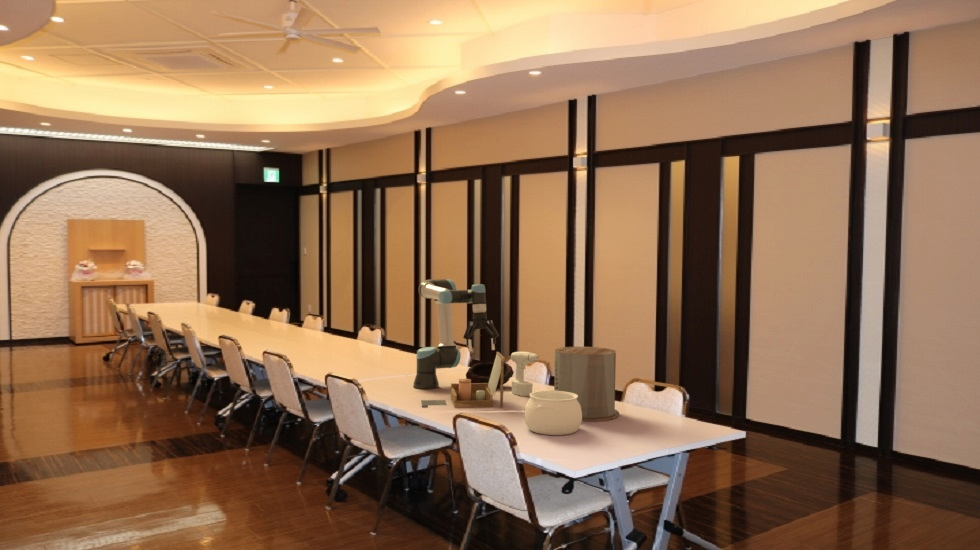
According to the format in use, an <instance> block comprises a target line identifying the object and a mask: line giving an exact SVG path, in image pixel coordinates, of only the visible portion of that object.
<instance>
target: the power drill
mask: <svg viewBox="0 0 980 550" xmlns="http://www.w3.org/2000/svg"><path fill="white" fill-rule="evenodd" d="M510 359H511V361H512V362H513V363H515V364H516V366H515V380H511V393H512V394H514V395H517V396H519V395H520V397H530V396H529V395H530V393H532V392H533V385H534V384H533V382H530V381H528V380H525V370H526V366H527V365H529V364H530V363H533V362H535V363H536V362H537V361H538V360H539V359H540V357H539V355H538V354H537V353H533V352H530V351H514V352H512V353H511V354H510Z"/></svg>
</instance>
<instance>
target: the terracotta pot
mask: <svg viewBox="0 0 980 550" xmlns="http://www.w3.org/2000/svg"><path fill="white" fill-rule="evenodd" d="M458 383H459V401H471V380H470V379H466V378H460V379H458Z"/></svg>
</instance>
